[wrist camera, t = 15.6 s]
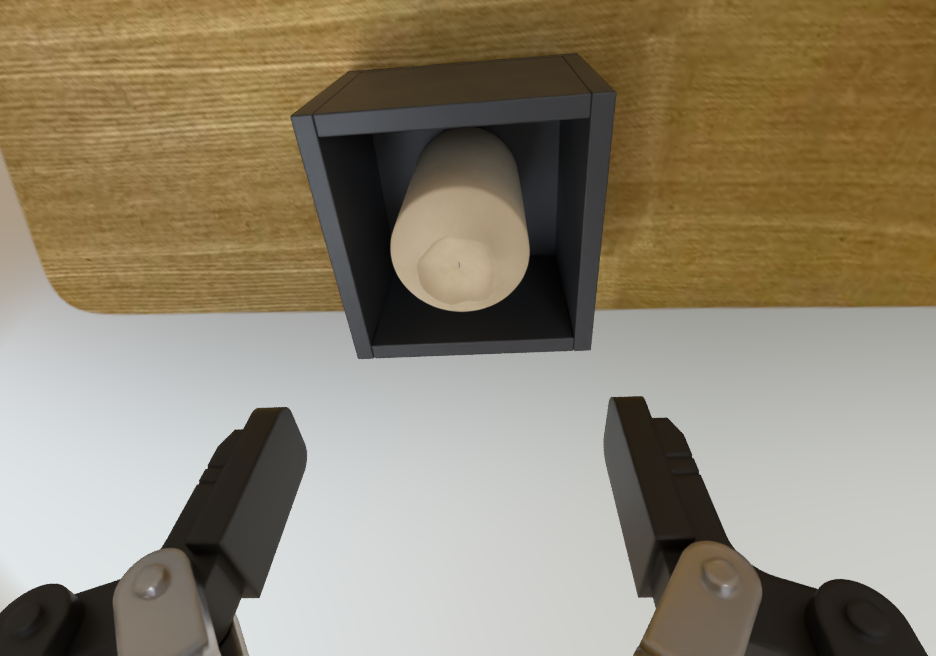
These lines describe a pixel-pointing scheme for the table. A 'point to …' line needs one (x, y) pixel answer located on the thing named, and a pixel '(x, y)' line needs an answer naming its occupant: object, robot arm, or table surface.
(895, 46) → the table surface
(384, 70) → the bin
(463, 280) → the candle
